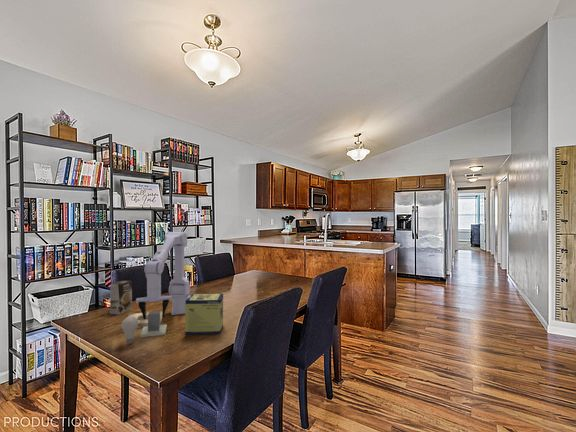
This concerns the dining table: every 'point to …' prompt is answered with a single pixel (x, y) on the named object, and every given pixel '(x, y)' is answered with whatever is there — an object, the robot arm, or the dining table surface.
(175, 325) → the dining table surface
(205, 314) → the protein box
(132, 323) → the lightbulb
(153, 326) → the peg
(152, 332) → the pad
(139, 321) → the pocket board
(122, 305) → the coffee box
